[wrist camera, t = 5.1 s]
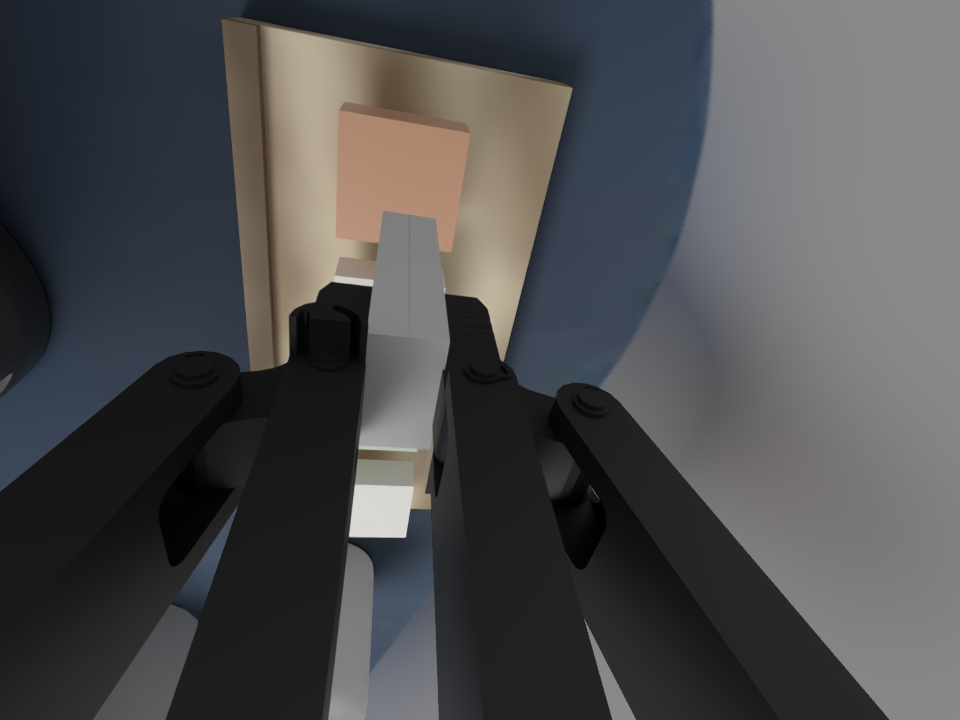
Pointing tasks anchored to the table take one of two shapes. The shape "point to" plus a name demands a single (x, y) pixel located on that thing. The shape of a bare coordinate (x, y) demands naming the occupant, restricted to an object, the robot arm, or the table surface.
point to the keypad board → (313, 174)
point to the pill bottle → (353, 639)
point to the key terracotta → (397, 170)
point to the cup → (153, 671)
